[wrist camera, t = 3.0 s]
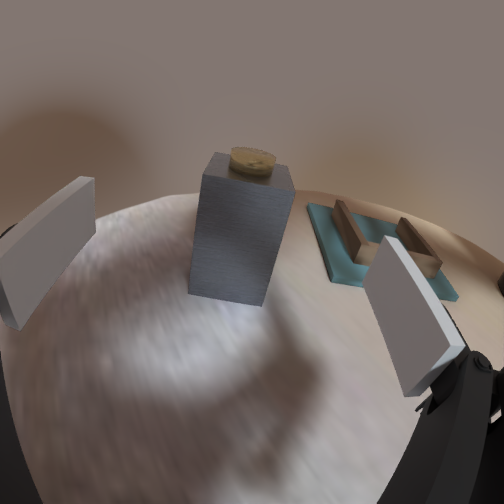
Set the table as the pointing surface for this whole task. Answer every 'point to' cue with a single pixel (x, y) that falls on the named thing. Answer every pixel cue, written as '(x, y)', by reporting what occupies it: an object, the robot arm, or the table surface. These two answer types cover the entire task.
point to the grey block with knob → (239, 225)
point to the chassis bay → (370, 246)
